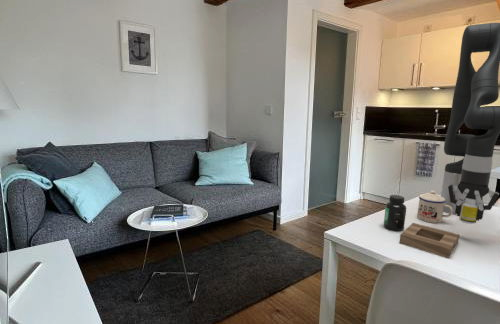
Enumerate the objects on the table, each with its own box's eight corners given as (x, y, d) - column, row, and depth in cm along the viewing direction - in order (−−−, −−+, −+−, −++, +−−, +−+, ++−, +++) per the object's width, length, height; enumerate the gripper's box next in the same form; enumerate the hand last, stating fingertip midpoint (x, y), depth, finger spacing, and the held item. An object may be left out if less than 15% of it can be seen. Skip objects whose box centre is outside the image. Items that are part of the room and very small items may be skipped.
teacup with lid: (412, 218, 121) (416, 190, 118) (420, 213, 127) (424, 186, 124) (446, 227, 112) (451, 198, 110) (454, 221, 118) (458, 193, 116)
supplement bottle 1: (383, 229, 110) (386, 198, 107) (383, 222, 116) (387, 192, 113) (404, 233, 107) (408, 200, 104) (403, 226, 113) (407, 195, 110)
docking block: (412, 230, 109) (413, 222, 108) (457, 243, 100) (459, 234, 99) (399, 242, 99) (400, 234, 98) (448, 258, 90) (450, 248, 89)
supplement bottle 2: (479, 225, 99) (483, 200, 97) (463, 223, 100) (467, 199, 98) (471, 219, 103) (475, 196, 102) (456, 218, 104) (460, 195, 103)
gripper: (505, 170, 96) (496, 220, 99) (452, 163, 105) (445, 209, 109) (503, 174, 90) (493, 227, 94) (448, 167, 100) (441, 215, 103)
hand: (468, 217), depth 101 cm, fingers closed on supplement bottle 2, 4 cm apart
